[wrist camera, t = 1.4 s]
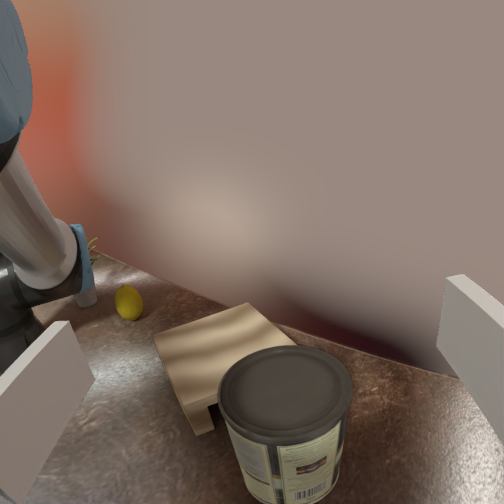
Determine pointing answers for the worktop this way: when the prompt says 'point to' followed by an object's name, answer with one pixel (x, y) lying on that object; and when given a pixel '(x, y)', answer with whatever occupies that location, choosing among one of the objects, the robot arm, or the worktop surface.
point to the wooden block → (211, 356)
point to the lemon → (128, 302)
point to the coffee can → (287, 421)
